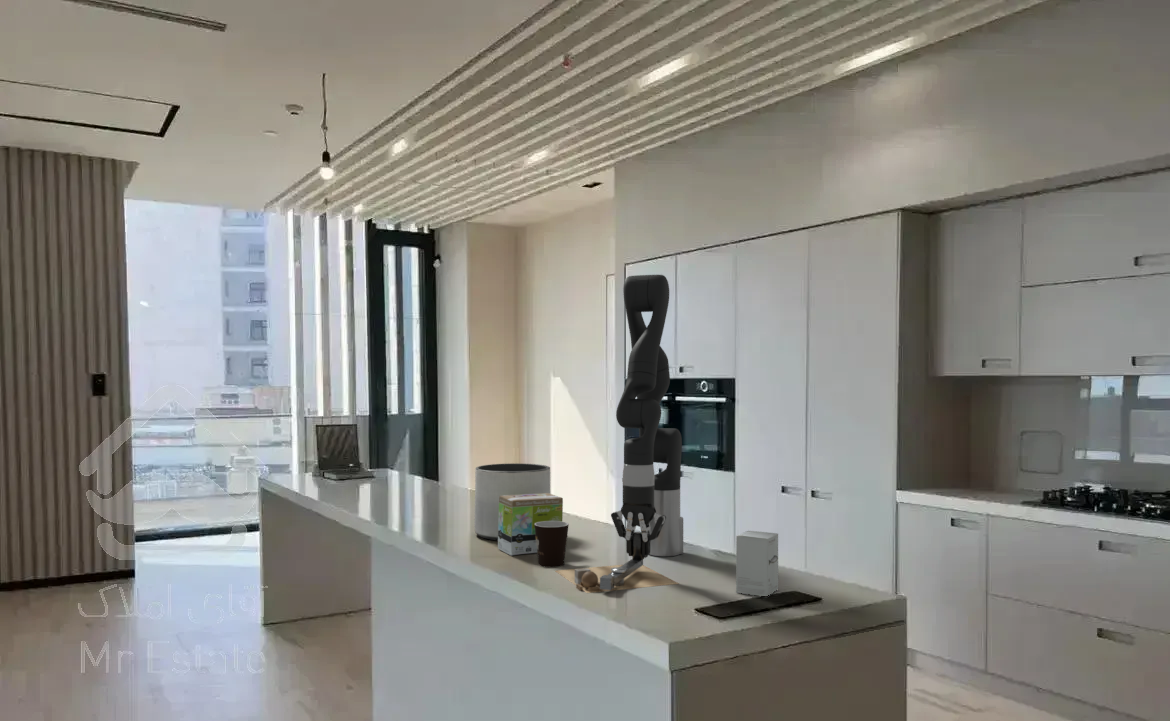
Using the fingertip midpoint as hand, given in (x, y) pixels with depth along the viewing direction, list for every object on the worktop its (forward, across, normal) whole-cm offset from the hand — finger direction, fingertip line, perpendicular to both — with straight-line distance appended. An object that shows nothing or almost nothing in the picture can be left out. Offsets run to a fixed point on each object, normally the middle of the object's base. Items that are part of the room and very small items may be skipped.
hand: (638, 555), depth 192 cm
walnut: (+3, +4, +19) cm, 20 cm away
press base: (+5, +3, +8) cm, 10 cm away
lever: (+3, 0, +10) cm, 11 cm away
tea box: (+5, +36, -14) cm, 39 cm away
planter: (+5, +51, -31) cm, 60 cm away
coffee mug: (+5, +24, -4) cm, 25 cm away
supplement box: (+5, -29, +2) cm, 29 cm away
